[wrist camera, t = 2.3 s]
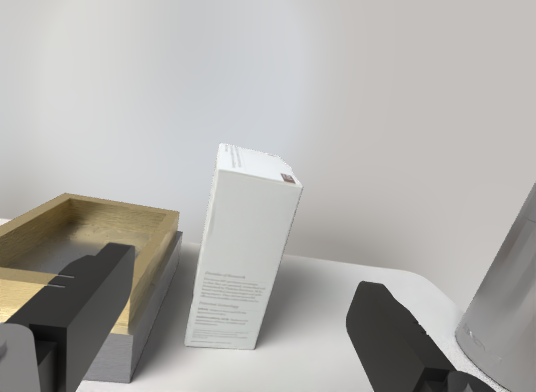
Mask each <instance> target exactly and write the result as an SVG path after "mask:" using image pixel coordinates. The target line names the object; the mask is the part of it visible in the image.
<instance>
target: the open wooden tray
mask: <svg viewBox="0 0 536 392" xmlns="http://www.w3.org/2000/svg"><path fill="white" fill-rule="evenodd" d="M178 220H179V212H178V211H172V210H165V209H159V208H153V207H147V206H141V205H135V204H129V203H123V202H116V201H111V200H105V199H99V198H92V197H86V196H80V195H74V194H68V193H64V194H62V195H60V196H58V197H56V198H54V199H52V200H50V201H48V202H46V203H45V204H42V205H40V206H39V207H37V208H35V209H33V210H31V211H29V212H27V213H25V214H23V215H21V216H19V217H17V218H15V219H13V220H11V221H9V222H7V223H5V224H3V225H1V226H0V324H3V323H4V322H5V321H6V320H8V319H9V318H10V317H11V316H12V315H13V314H14V313H15V312H16V311H17V310H19V309H20V308H21V307H22V306H23V305H24V304H25V303H26V302H27V301H28V300H30V299H31V298H32V297H33V296H34V295H35V294H36V293H37V292H38V291H39V290H41V289H42V288H43V287H44V286H47V284H48V282H49V281H50V280H52V279H53V278H54V277H55V276H57V275H58V273H59V272H60V271H61V270H63V269H64V268H65V267H66V266H67V265H68V264H69V263H70V262H73V261H75V260H77V259H79V258H81V257H83V256H85V255H93V256H96V255H97V254H98V253H99V252H100V251H101V250H102V249H103V248H104V247H105V246H106V244H108V243H109V242H114V243H120V244H127V245H133V246H135V262H134V273H133V283H132V290H131V294H130V297H129V300H128V302H127V304H126V306H125V308H124V310H123V311H122V313H121V315H120V316H119V318H118V320H117V322H116V323H115V325H114V327H113V328H112V330H111V332H110V333H109V335H108V337H107V339H106V340H105V342H104V344H103V345H102V347H101V349H100V350H99V352H98V354H97V356H96V357H95V359H94V361H93V362H92V364H91V366H90V367H89V369H88V371H87V373H86V374H85V376H84V378H83V379H82V380H93V381H106V382H119V383H130V380H131V378H132V376H133V373H134V371H135V368H136V366H137V363H138V361H139V358H140V356H141V354H142V351H143V349H144V346H145V344H146V341H147V339H148V337H149V334H150V332H151V329H152V327H153V324H154V322H155V319H156V317H157V315H158V312H159V310H160V307H161V305H162V302H163V300H164V297H165V295H166V293H167V290H168V288H169V285H170V283H171V280H172V278H173V276H174V273H175V271H176V268H177V266H178V263H179V255H180V248H181V240H182V233H183V232H180V231H177V228H178Z"/></svg>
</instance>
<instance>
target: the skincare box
mask: <svg viewBox="0 0 536 392" xmlns="http://www.w3.org/2000/svg"><path fill="white" fill-rule="evenodd" d="M302 190H303V186H302V185H301V183H300V182H299V181H298V179H297V178H296V177H295V175H294V174H293V173H292V168H291V167H290V166H289V165H287V164H285V162H284V161H283V160H282V158H281V157H280V156H277V155H272V154H268V153H264V152H259V151H254V150H249V149H245V148H240V147H236V146H233V145H229V144H223V143H221V144H220V145H219V149H218V154H217V159H216V164H215V170H214V175H213V181H212V186H211V192H210V198H209V204H208V209H207V215H206V221H205V226H204V232H203V237H202V242H201V248H200V253H199V258H198V263H197V268H196V273H195V278H194V283H193V298H192V304H191V309H190V314H189V319H188V324H187V329H186V334H185V340H184V345H185V346H191V347H210V348H228V349H248V350H253V349H255V345H256V341H257V338H258V335H259V331H260V328H261V325H262V321H263V318H264V315H265V312H266V308H267V305H268V302H269V298H270V295H271V292H272V289H273V285H274V282H275V279H276V275H277V272H278V269H279V265H280V262H281V259H282V256H283V252H284V248H285V246H286V242H287V239H288V236H289V233H290V229H291V226H292V223H293V220H294V216H295V213H296V209H297V206H298V203H299V200H300V197H301V193H302Z"/></svg>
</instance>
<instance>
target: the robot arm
mask: <svg viewBox="0 0 536 392" xmlns="http://www.w3.org/2000/svg"><path fill="white" fill-rule="evenodd" d="M134 262H135V246H133V245H127V244H120V243H114V242H109V243H108V244H106V246H105V247H104V248H103V249H102V250H101V251H100V252H99V253H98V254H97V255H96V256H93V255H85V256H83V257H81V258H79V259H77V260H75V261H73V262H70V263H69V264H68V265H67V266H66V267H65V268H64V269H63V270H61V271H60V272H59V273H58V275H57V276H55V277H54V278H53V279H52V280H50V281H49V282H48V284H47V286H44V287H43V288H42V289H41V290H39V291H38V292H37V293H36V294H35V295H34V296H33V297H32V298H31V299H30V300H28V301H27V302H26V303H25V304H24V305H23V306H22V307H21V308H20V309H19V310H17V311H16V312H15V313H14V314H13V315H12V316H11V317H10V318H9V319H8V320H6V321H5V322H4V323H3V324H0V392H75V391H76V390H77V388H78V386H79V385H80V383H81V381H82V379H83V378H84V376H85V374H86V373H87V371H88V369H89V367H90V366H91V364H92V362H93V361H94V359H95V357H96V356H97V354H98V352H99V350H100V349H101V347H102V345H103V344H104V342H105V340H106V339H107V337H108V335H109V333H110V332H111V330H112V328H113V327H114V325H115V323H116V322H117V320H118V318H119V316H120V315H121V313H122V311H123V310H124V308H125V306H126V304H127V302H128V300H129V297H130V294H131V290H132V283H133V273H134ZM346 328H347V332H348V335H349V337H350V339H351V341H352V344H353V346H354V348H355V350H356V352H357V355H358V357H359V359H360V361H361V363H362V366H363V368H364V370H365V372H366V374H367V377H368V379H369V381H370V383H371V385H372V388H373V390H374V392H496V391H495V390H494V389H492V388H491V387H490V386H489V385H487V384H486V383H485V382H483V381H482V380H480V379H478V378H477V377H475V376H473V375H471V374H468V373H465V372H462V371H457V370H456V369H455V367H454V366H453V365H452V364H451V362H450V361H449V360H448V359H447V357H446V356H445V355H444V354H443V352H442V351H441V350H440V349H439V347H438V346H437V345H436V344H435V342H434V341H433V340H432V339H431V337H430V336H429V335H427V334H426V331H425V330H424V329H423V327H422V326H421V325H419V324H418V321H417V320H416V319H415V317H414V316H413V315H412V314H411V312H410V311H409V310H408V309H407V308H405V307H404V306H403V305H402V304H400V303H399V302H398V301H397V300H396V299H395V298H394V297H393V296H392V294H391V293H390V292H389V290H388V289H387V288H386V287H385V286H384V285H383V284H380V283H373V282H366V281H362V282H360V283H359V285H358V287H357V289H356V292H355V295H354V297H353V300H352V303H351V305H350V308H349V311H348V313H347V317H346ZM456 338H457V341H458V343H459V345H460V347H461V349H462V350H463V351H464V352H465V354H466V355H467V356H468V357H469V358H470V359H471V360H472V362H473V363H474V364H475V365H476V366H477V367H479V368H480V369H481V370H482V371H483V372H484V373H486V374H487V375H488V376H489V377H491V378H492V379H493V380H495V381H496V382H497V383H499V384H500V385H502V386H503V387H505V388H506V389H508V390H510V391H511V392H536V183H535V184H534V186H533V187H532V190H531V191H530V193H529V195H528V197H527V199H526V201H525V203H524V204H523V206H522V208H521V210H520V213H519V214H518V216H517V218H516V220H515V222H514V223H513V225H512V227H511V229H510V231H509V233H508V235H507V236H506V238H505V240H504V242H503V244H502V246H501V248H500V250H499V251H498V253H497V256H496V257H495V259H494V261H493V263H492V264H491V266H490V268H489V270H488V272H487V274H486V276H485V278H484V279H483V281H482V283H481V285H480V287H479V289H478V291H477V292H476V294H475V296H474V298H473V300H472V302H471V303H470V306H469V307H468V309H467V311H466V313H465V315H464V317H463V318H462V320H461V322H460V324H459V326H458V328H457V330H456Z"/></svg>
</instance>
